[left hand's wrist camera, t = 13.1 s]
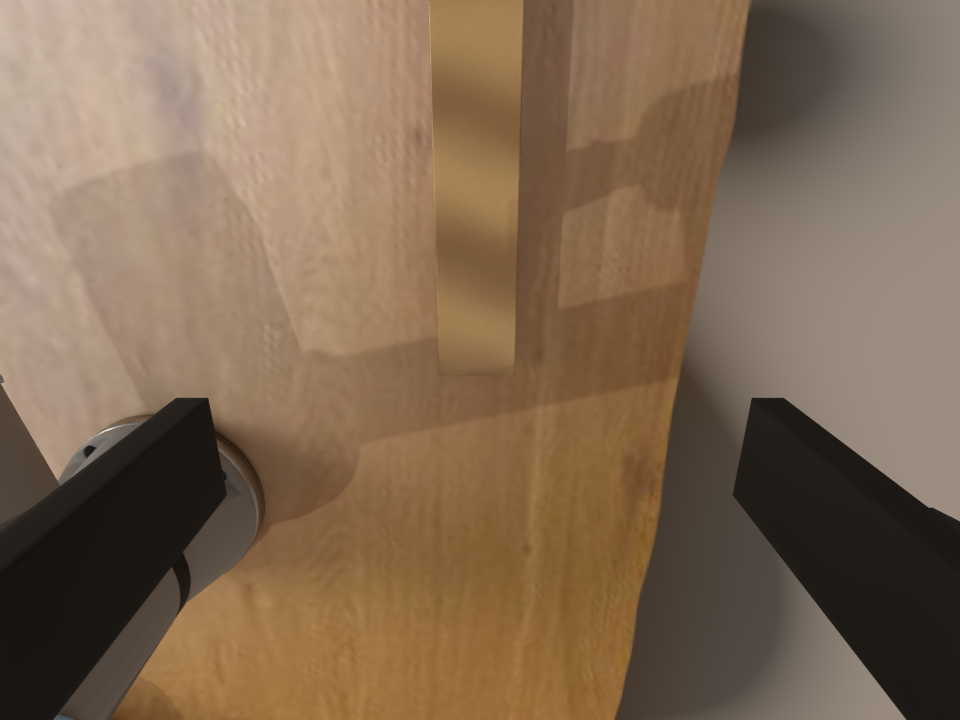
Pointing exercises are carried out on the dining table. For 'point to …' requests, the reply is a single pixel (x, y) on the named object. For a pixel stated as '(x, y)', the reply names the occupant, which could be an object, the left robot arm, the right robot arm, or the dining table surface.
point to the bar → (476, 180)
